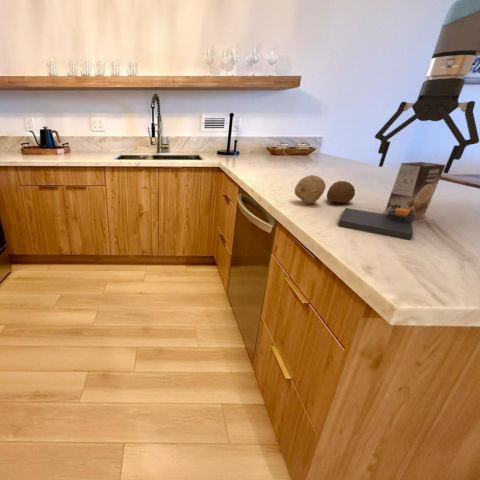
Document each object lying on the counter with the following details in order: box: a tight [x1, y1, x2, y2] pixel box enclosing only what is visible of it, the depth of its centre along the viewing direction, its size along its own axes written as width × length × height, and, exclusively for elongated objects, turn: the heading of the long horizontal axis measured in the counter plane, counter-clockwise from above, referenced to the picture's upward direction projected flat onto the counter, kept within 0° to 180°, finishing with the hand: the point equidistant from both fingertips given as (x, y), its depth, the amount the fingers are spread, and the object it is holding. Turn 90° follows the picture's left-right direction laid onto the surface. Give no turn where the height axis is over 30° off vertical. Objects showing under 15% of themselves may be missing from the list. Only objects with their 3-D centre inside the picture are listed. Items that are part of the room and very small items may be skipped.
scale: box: [337, 207, 415, 241], centre depth 81 cm, size 16×14×4 cm
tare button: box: [395, 208, 410, 216], centre depth 80 cm, size 3×3×2 cm
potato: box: [326, 180, 356, 204], centre depth 100 cm, size 8×12×8 cm, turn 139°
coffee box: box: [383, 161, 446, 221], centre depth 85 cm, size 9×6×16 cm
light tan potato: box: [294, 174, 326, 205], centre depth 98 cm, size 9×9×10 cm
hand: (411, 169), depth 77 cm, fingers open, 13 cm apart
